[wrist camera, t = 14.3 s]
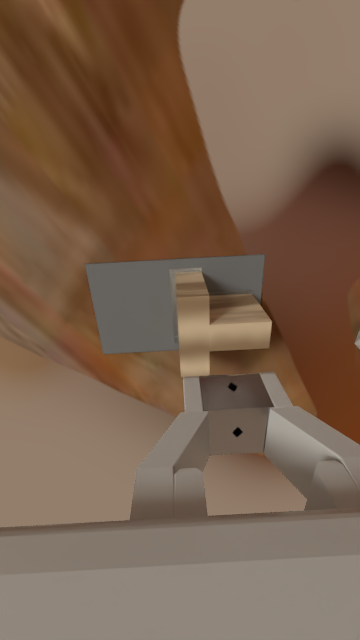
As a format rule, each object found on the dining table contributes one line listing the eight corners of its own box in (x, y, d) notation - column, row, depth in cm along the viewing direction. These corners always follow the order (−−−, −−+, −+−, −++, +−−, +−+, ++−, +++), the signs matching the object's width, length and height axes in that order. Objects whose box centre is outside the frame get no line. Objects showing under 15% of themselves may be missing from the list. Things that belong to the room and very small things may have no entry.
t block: (175, 273, 42) (176, 297, 33) (253, 268, 42) (275, 292, 34) (179, 340, 48) (181, 377, 39) (248, 336, 48) (266, 372, 39)
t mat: (85, 264, 42) (85, 264, 41) (264, 254, 42) (265, 254, 42) (103, 353, 49) (103, 354, 49) (256, 344, 49) (256, 345, 49)
